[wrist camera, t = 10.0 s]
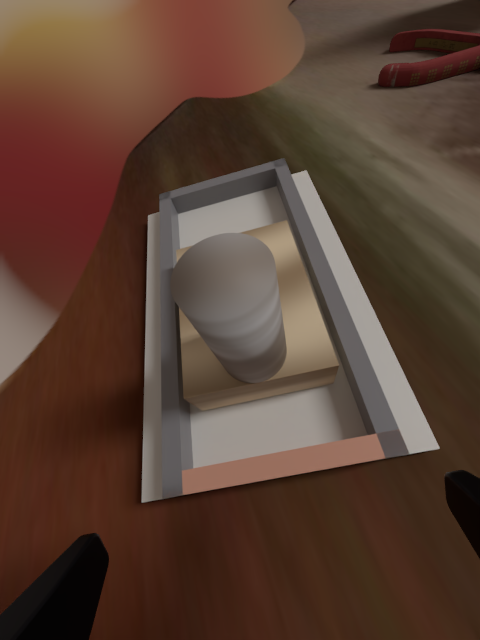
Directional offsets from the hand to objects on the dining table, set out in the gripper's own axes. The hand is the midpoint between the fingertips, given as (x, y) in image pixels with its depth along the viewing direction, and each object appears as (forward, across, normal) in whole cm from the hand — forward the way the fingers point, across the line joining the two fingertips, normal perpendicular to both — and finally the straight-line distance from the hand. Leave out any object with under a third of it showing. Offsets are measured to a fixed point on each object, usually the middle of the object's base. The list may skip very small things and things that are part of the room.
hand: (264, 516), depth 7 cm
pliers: (+38, -32, -21) cm, 54 cm away
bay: (+18, 0, -2) cm, 19 cm away
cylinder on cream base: (+15, 0, -1) cm, 15 cm away
